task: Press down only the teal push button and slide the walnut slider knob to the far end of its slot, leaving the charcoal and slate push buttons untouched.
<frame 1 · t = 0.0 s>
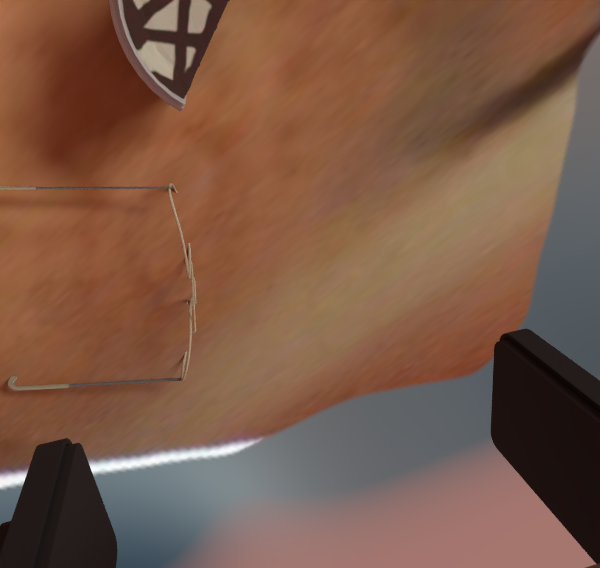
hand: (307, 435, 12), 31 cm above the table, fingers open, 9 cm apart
eyeglasses: (97, 278, 41), on the table
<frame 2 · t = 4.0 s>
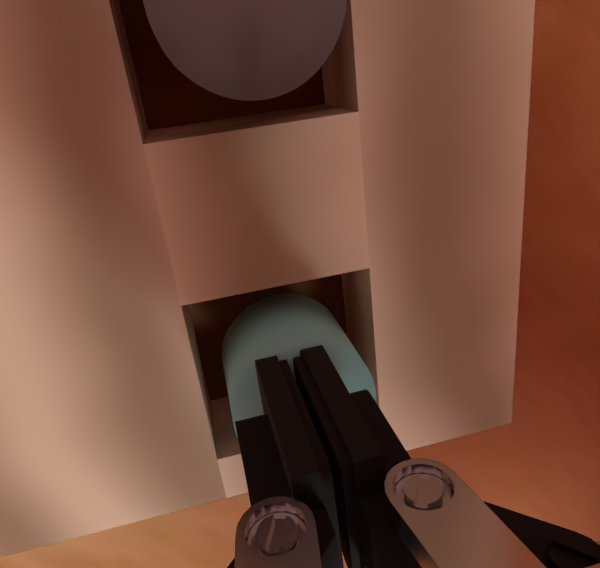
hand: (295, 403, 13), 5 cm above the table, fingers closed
teal button: (293, 376, 14), point 3 cm above the table, slide at 0.1 cm, touching gripper
control panel: (21, 40, 13), on the table
charcoal button: (238, 1, 10), point 3 cm above the table, slide at 0.0 cm
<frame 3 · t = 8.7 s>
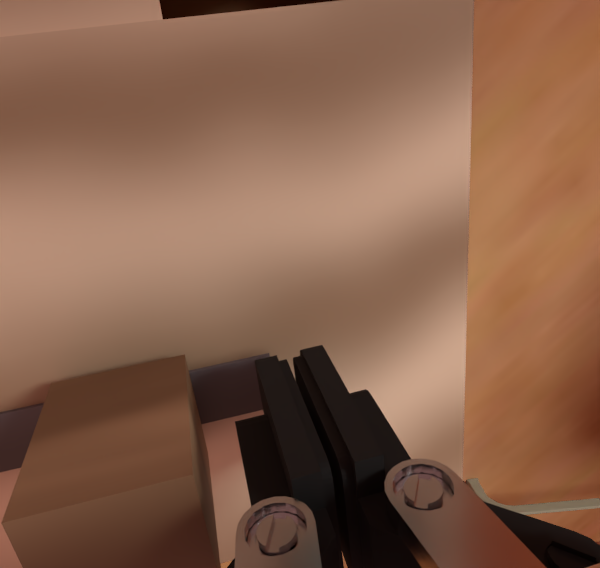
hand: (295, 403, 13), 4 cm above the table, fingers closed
walnut slider: (130, 479, 11), point 5 cm above the table, slide at 1.0 cm, touching gripper
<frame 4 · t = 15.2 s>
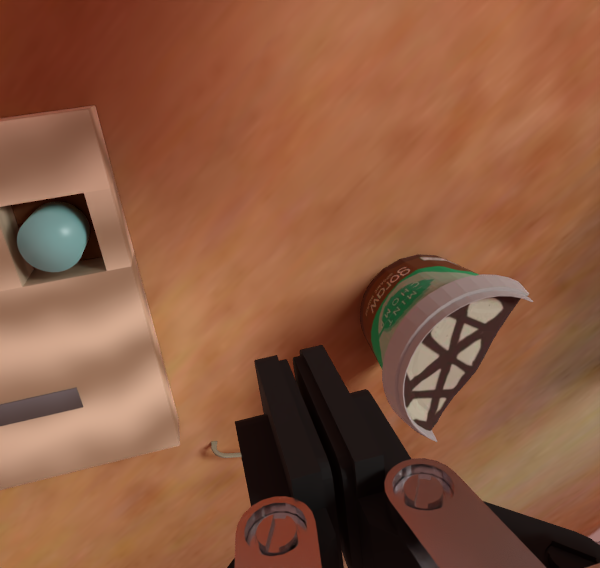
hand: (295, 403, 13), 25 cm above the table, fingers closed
teal button: (55, 236, 32), point 2 cm above the table, slide at 1.5 cm
food container: (386, 294, 42), on the table
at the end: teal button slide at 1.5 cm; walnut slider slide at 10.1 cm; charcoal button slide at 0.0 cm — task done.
